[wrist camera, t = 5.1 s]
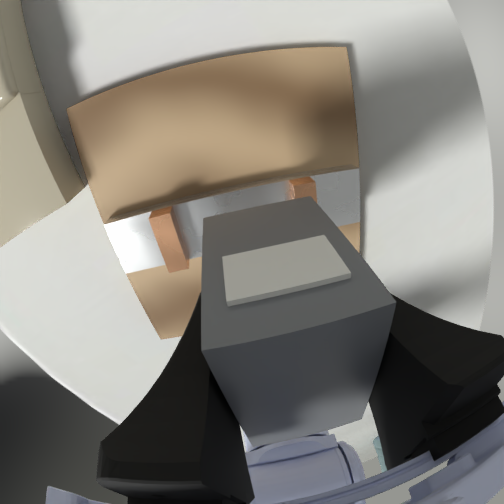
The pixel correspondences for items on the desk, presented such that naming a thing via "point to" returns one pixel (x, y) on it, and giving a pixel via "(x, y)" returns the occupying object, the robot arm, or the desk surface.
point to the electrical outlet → (27, 136)
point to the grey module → (290, 319)
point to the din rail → (218, 202)
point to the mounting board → (213, 143)
